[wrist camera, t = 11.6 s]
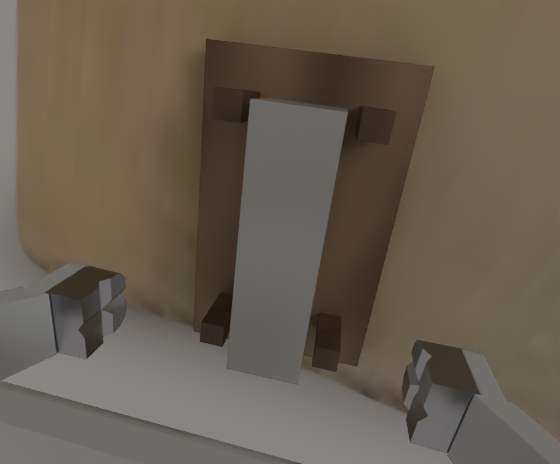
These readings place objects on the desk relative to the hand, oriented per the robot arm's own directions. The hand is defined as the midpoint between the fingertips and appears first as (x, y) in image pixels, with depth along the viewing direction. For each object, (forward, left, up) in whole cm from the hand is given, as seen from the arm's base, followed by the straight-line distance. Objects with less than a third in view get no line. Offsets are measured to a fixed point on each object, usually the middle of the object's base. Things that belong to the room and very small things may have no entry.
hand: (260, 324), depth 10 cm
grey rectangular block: (0, 0, -9) cm, 9 cm away
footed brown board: (0, 0, -11) cm, 11 cm away
